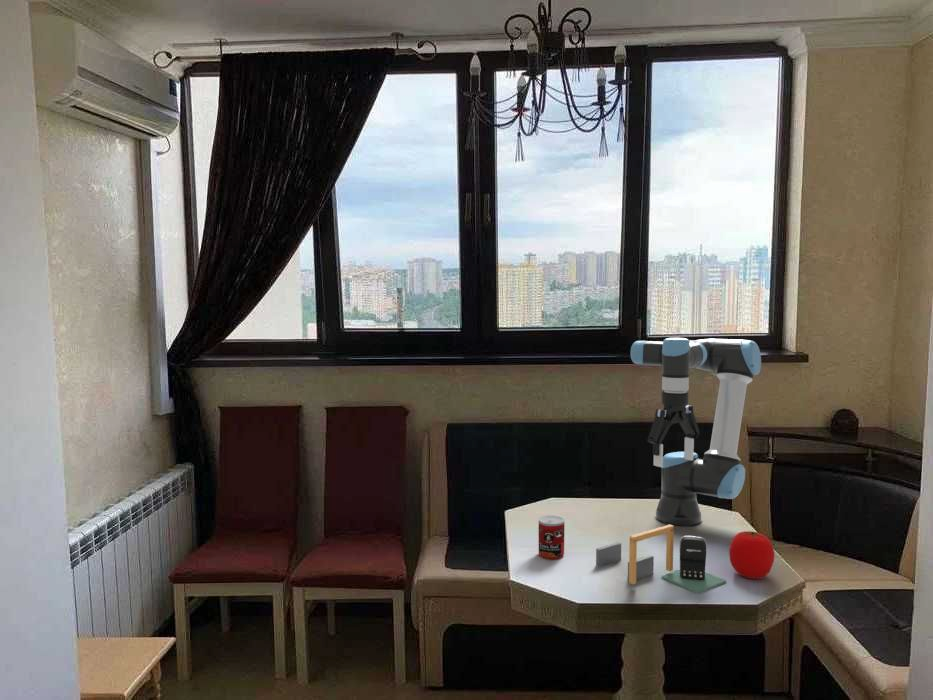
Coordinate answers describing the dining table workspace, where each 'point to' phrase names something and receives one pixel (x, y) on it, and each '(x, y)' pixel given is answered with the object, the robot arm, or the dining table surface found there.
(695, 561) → the battery charger
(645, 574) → the clip
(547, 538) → the canned food
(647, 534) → the arched handle
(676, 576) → the mat
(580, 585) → the dining table surface
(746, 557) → the tomato
